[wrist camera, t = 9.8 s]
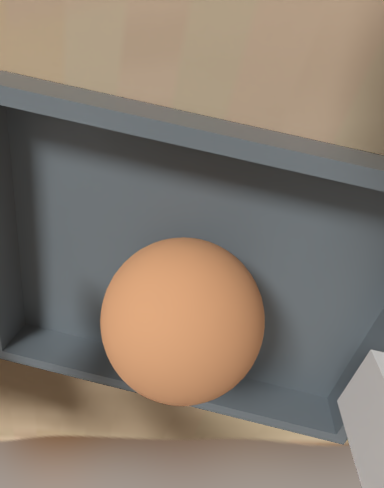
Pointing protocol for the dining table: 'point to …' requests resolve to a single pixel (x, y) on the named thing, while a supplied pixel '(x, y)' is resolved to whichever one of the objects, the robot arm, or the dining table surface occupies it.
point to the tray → (191, 226)
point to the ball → (182, 321)
